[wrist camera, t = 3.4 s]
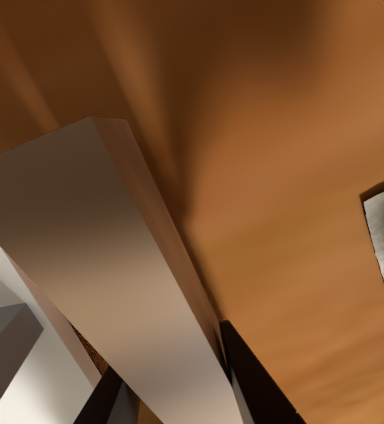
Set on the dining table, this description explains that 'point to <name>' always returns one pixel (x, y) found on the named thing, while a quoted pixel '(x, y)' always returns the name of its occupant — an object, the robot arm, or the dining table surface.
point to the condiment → (376, 225)
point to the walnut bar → (116, 265)
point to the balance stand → (38, 355)
